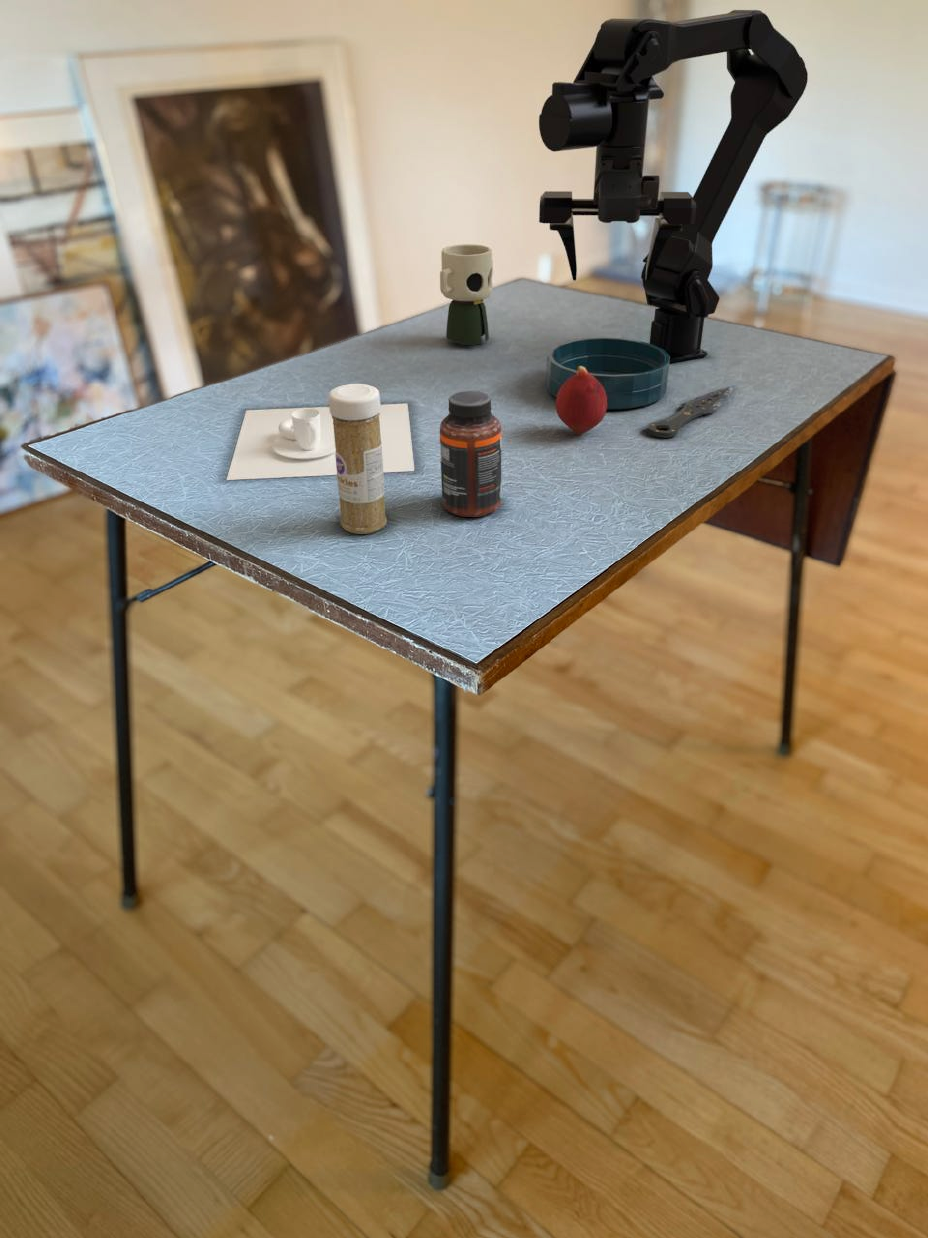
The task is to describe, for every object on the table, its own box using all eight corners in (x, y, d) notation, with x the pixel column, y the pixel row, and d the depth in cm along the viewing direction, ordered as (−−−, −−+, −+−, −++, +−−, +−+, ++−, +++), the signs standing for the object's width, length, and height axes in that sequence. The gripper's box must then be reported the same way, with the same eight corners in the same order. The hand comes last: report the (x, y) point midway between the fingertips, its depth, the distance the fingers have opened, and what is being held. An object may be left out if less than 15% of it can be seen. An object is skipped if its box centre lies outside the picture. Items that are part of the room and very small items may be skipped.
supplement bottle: (510, 499, 95) (512, 391, 88) (486, 524, 90) (487, 412, 84) (457, 488, 97) (455, 382, 90) (431, 513, 92) (427, 403, 86)
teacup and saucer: (276, 432, 110) (271, 399, 107) (344, 429, 110) (341, 396, 108) (269, 464, 102) (265, 429, 100) (342, 460, 103) (339, 425, 101)
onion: (604, 425, 111) (609, 358, 106) (605, 444, 106) (610, 375, 101) (554, 423, 111) (558, 357, 107) (553, 443, 106) (557, 374, 102)
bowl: (623, 363, 129) (626, 331, 126) (689, 399, 117) (694, 364, 115) (525, 380, 123) (526, 347, 121) (585, 420, 112) (587, 383, 109)
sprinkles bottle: (331, 526, 90) (317, 392, 83) (364, 509, 93) (354, 378, 86) (364, 540, 88) (353, 403, 80) (398, 523, 91) (390, 389, 83)
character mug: (461, 356, 132) (460, 260, 125) (424, 346, 136) (421, 252, 129) (509, 337, 139) (511, 245, 132) (473, 328, 143) (472, 239, 135)
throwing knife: (638, 431, 108) (638, 426, 108) (718, 384, 121) (718, 379, 121) (671, 440, 106) (672, 435, 106) (749, 391, 119) (750, 386, 118)
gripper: (540, 153, 105) (535, 296, 113) (709, 153, 103) (691, 298, 112) (542, 140, 114) (538, 273, 123) (697, 140, 112) (682, 274, 121)
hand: (610, 280), depth 119 cm, fingers open, 9 cm apart
